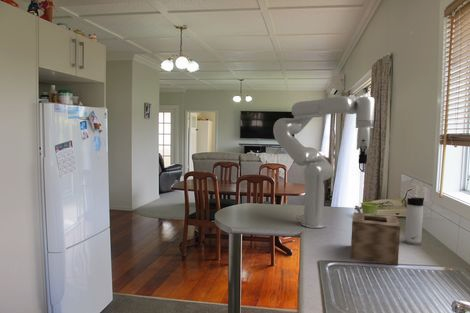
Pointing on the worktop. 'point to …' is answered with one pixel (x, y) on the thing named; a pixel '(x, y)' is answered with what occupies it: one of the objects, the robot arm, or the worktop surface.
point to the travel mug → (414, 221)
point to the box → (375, 238)
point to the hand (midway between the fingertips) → (362, 162)
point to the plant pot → (369, 207)
